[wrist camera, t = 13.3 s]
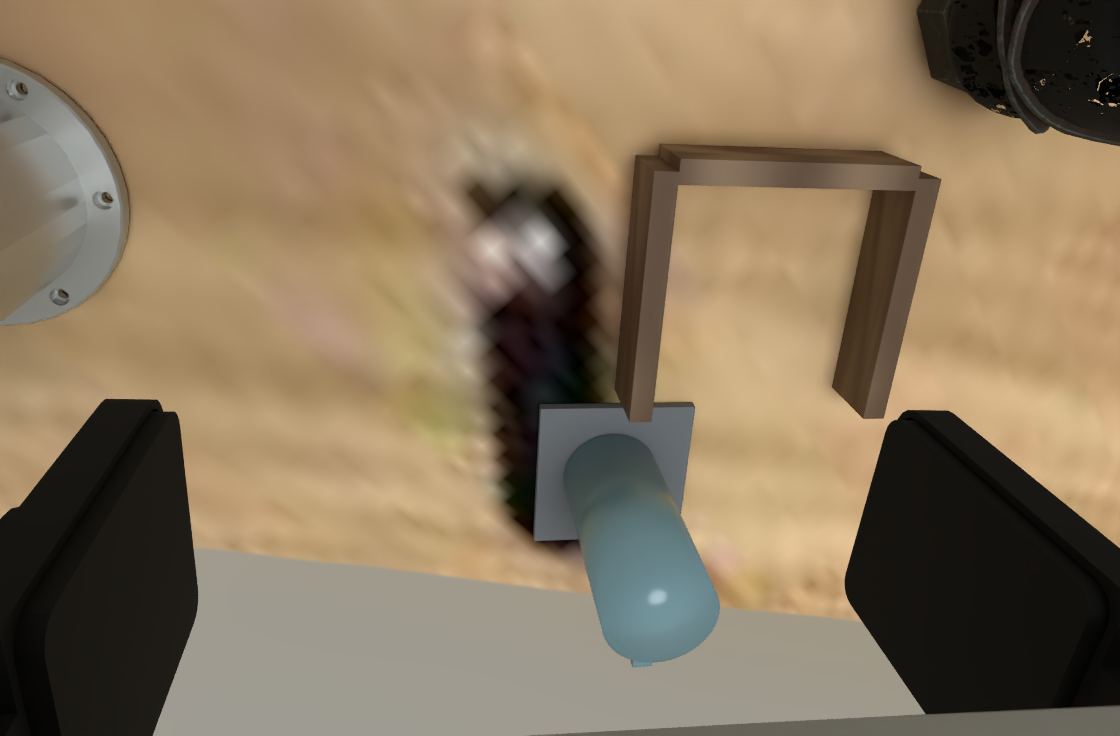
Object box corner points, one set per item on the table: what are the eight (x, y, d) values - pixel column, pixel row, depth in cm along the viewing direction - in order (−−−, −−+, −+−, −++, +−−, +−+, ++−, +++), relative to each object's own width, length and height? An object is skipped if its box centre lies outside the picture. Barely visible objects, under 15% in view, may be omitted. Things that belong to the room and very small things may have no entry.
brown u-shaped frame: (614, 389, 47) (629, 422, 44) (636, 143, 42) (655, 158, 38) (851, 387, 50) (883, 418, 46) (902, 151, 44) (944, 166, 40)
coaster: (533, 535, 51) (534, 540, 50) (539, 404, 47) (540, 409, 47) (675, 529, 52) (677, 535, 52) (692, 402, 49) (695, 407, 48)
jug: (565, 436, 47) (605, 572, 37) (660, 432, 48) (726, 565, 38) (560, 547, 51) (595, 702, 40) (649, 542, 52) (706, 692, 41)
